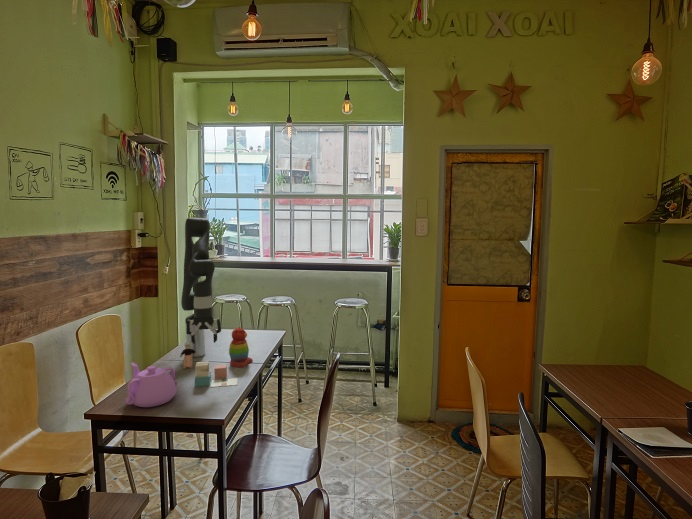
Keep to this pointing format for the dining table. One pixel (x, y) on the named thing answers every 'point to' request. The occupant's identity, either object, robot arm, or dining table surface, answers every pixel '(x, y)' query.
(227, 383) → the page
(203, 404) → the dining table surface
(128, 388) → the teapot
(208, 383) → the teal base brick
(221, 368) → the red block
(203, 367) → the maple block
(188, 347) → the grandmother figurine
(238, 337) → the stacking bear
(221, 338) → the dining table surface
